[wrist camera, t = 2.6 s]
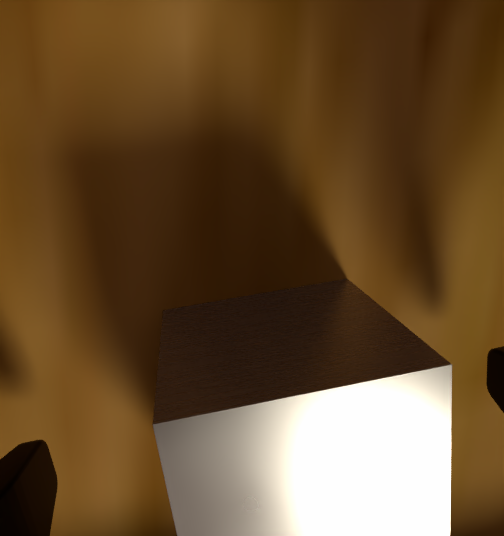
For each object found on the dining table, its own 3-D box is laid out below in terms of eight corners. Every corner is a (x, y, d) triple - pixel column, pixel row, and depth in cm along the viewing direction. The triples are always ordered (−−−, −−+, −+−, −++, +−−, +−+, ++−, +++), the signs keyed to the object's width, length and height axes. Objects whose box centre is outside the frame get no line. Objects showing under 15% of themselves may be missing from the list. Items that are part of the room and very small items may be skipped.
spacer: (346, 277, 10) (452, 364, 6) (356, 430, 11) (449, 584, 7) (163, 309, 9) (152, 424, 6) (193, 465, 10) (202, 650, 7)
